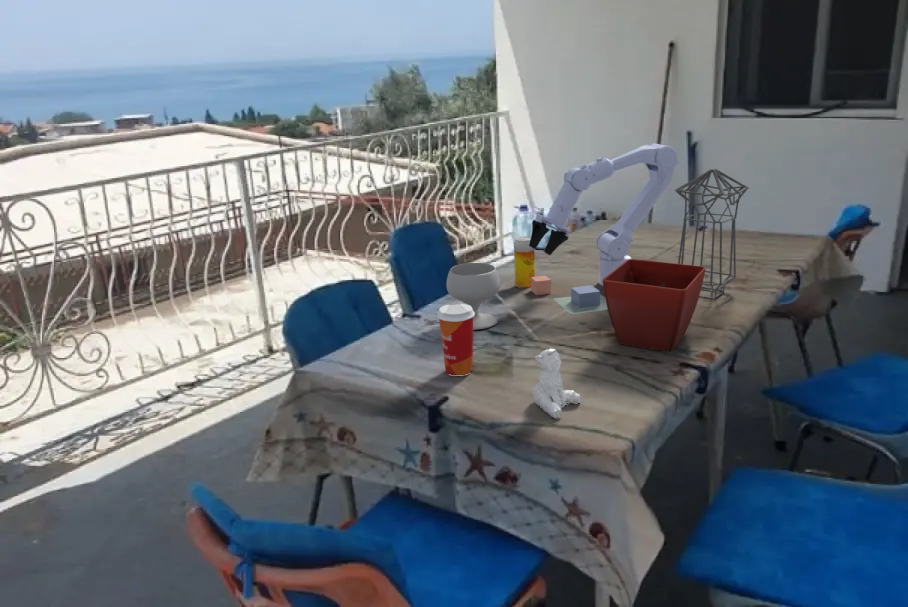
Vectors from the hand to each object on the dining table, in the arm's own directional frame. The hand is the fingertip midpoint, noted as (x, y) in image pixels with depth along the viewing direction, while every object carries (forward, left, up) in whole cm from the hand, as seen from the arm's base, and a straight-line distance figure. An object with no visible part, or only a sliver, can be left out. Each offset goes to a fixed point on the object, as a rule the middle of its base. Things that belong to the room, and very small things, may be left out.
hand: (539, 250), depth 204 cm
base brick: (-8, +14, -13) cm, 21 cm away
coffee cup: (+35, +45, -14) cm, 58 cm away
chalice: (+24, +16, -14) cm, 32 cm away
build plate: (-8, +14, -13) cm, 21 cm away
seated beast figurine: (+21, +67, -14) cm, 71 cm away
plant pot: (-14, +42, -14) cm, 46 cm away
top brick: (0, 0, -13) cm, 13 cm away
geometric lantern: (-44, +15, -14) cm, 49 cm away
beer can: (+2, -9, -14) cm, 16 cm away
